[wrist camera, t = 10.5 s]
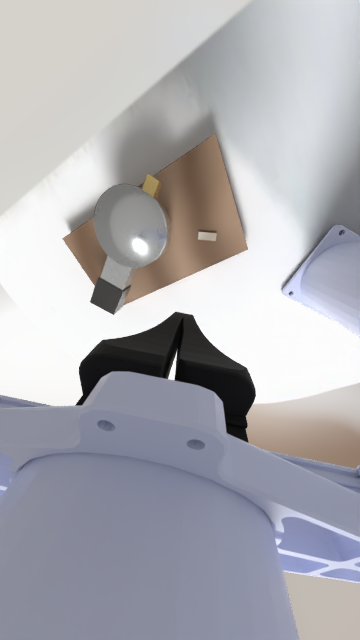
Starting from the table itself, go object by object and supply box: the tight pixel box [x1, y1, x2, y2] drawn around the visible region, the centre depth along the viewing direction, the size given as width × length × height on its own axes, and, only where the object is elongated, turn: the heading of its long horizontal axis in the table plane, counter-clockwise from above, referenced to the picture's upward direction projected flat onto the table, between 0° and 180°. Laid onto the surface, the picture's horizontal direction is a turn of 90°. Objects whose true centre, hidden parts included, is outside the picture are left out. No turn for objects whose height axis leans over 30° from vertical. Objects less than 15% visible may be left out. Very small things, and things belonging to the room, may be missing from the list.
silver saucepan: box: [90, 174, 171, 315], centre depth 16 cm, size 13×6×3 cm, turn 150°
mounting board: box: [62, 133, 248, 305], centre depth 18 cm, size 10×18×2 cm, turn 115°
